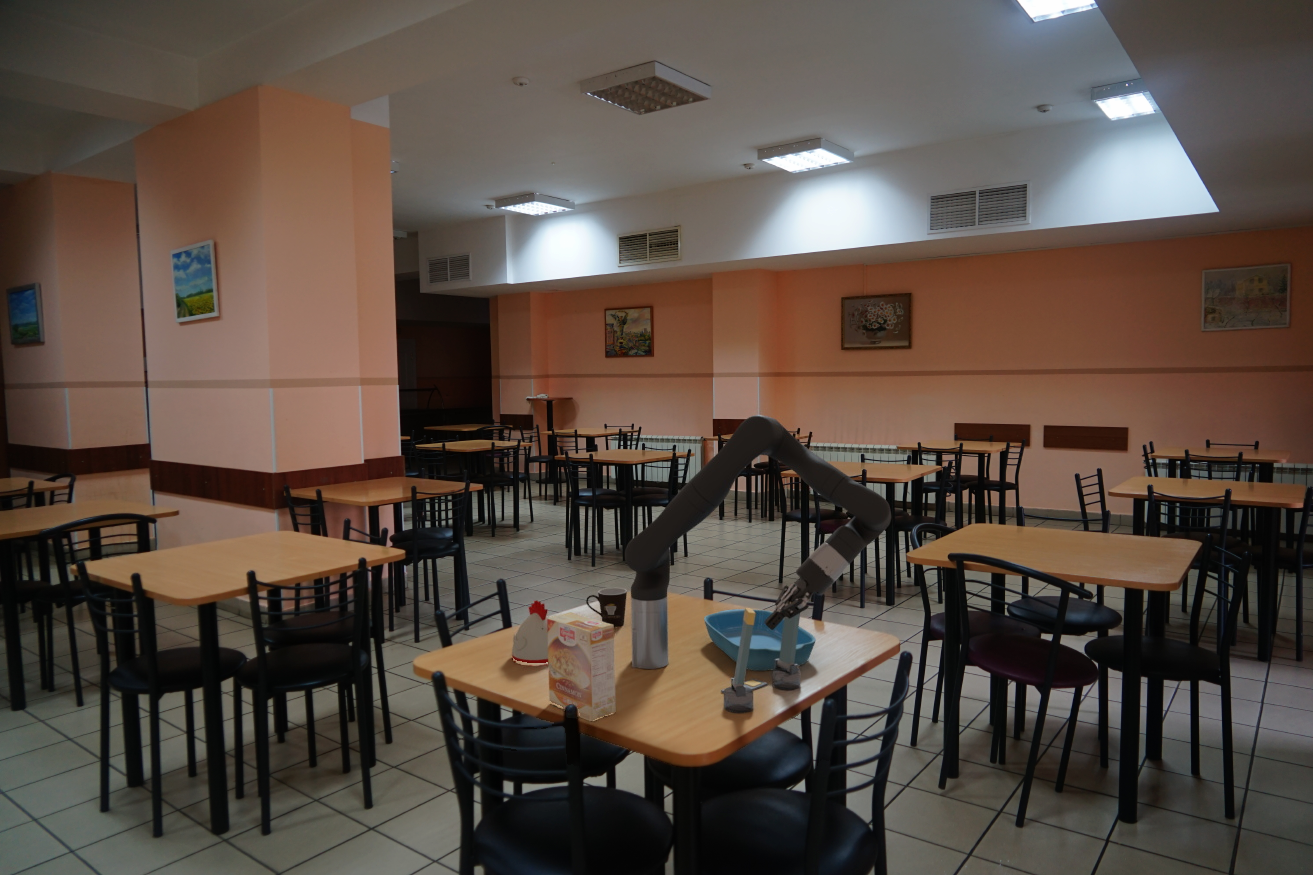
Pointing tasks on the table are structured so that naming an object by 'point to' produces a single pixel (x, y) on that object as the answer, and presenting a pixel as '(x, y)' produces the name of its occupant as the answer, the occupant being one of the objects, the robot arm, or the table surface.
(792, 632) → the far lever
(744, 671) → the near lever
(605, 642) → the coffeecake box
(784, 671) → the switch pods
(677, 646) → the table surface
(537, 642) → the kitchen timer
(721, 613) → the casserole dish
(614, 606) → the coffee mug
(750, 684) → the chart card
